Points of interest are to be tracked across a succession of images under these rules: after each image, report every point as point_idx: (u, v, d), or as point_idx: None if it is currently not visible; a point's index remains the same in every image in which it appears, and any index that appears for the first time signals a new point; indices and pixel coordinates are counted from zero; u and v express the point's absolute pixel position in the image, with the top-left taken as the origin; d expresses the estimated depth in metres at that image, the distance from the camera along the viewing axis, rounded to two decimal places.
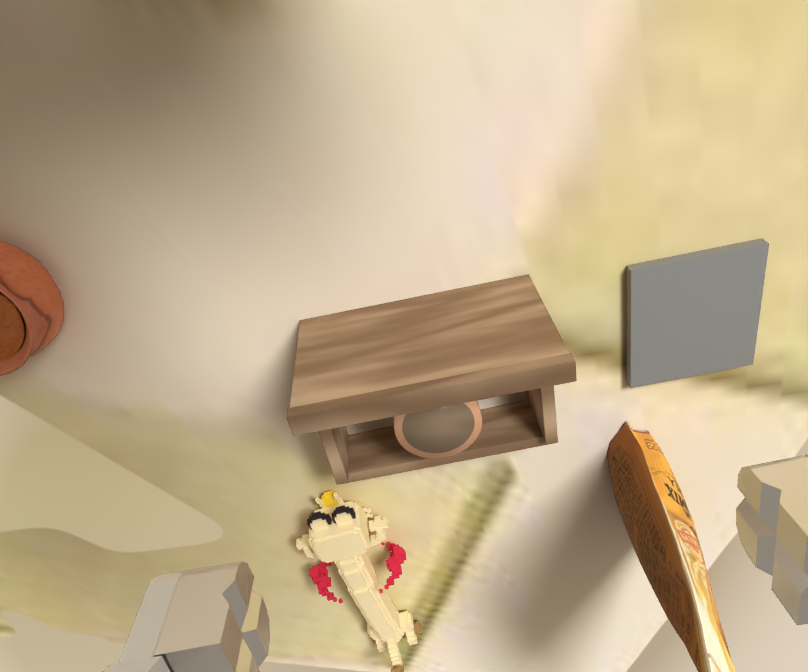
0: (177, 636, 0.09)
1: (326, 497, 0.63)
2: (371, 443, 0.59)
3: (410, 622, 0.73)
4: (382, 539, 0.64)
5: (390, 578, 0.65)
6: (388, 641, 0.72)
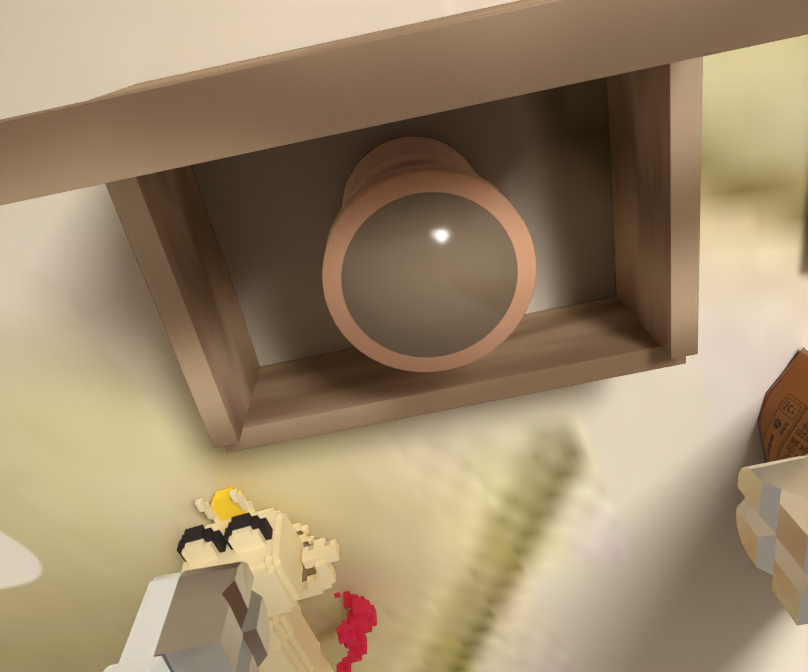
0: (177, 636, 0.09)
1: (219, 499, 0.33)
2: (302, 376, 0.29)
3: None
4: (328, 584, 0.34)
5: (344, 661, 0.34)
6: None
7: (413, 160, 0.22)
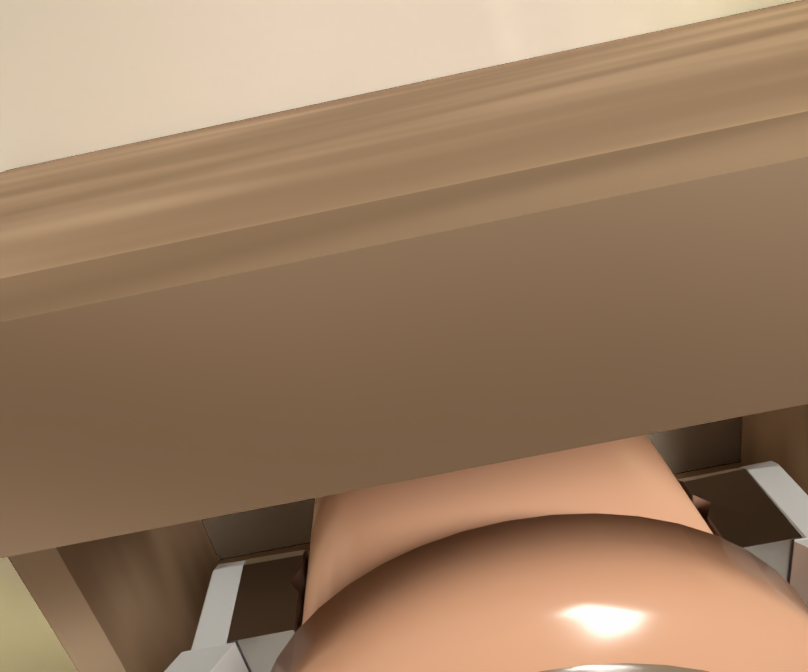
0: (248, 623, 0.09)
1: None
2: None
3: None
4: None
5: None
6: None
7: None
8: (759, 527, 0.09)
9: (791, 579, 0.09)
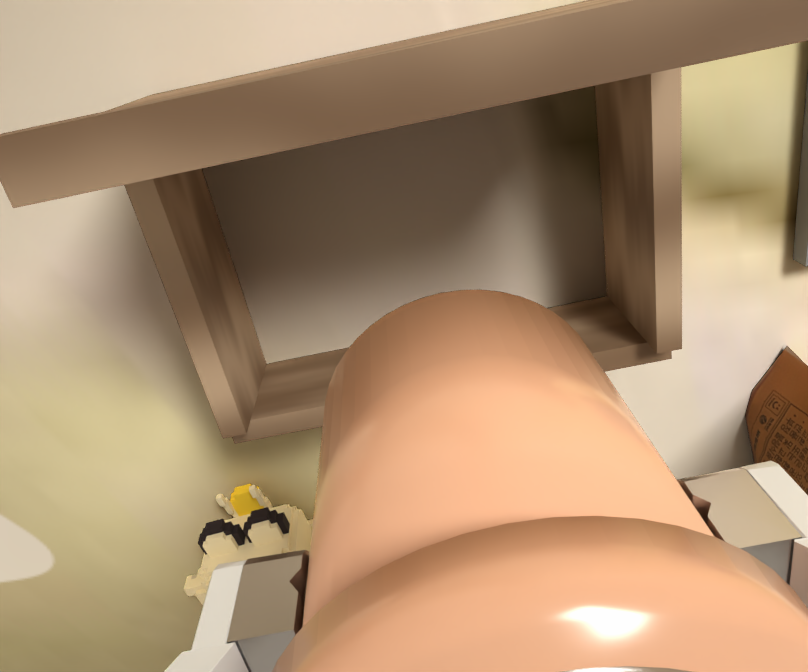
0: (248, 623, 0.09)
1: (238, 495, 0.34)
2: (306, 372, 0.30)
3: None
4: None
5: None
6: None
7: (496, 417, 0.09)
8: (759, 527, 0.09)
9: (791, 579, 0.09)
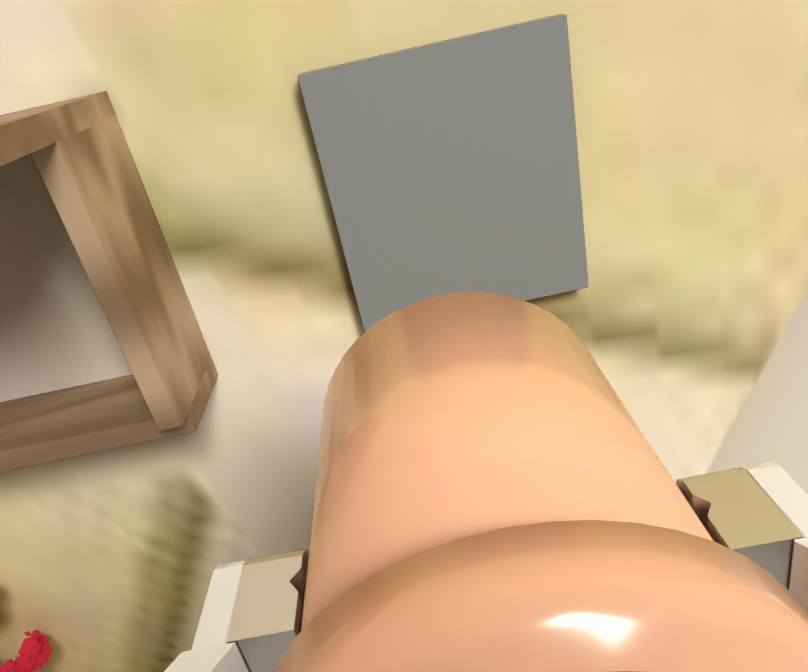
0: (248, 623, 0.09)
1: None
2: None
3: None
4: None
5: None
6: None
7: (494, 421, 0.09)
8: (759, 527, 0.09)
9: (791, 579, 0.09)
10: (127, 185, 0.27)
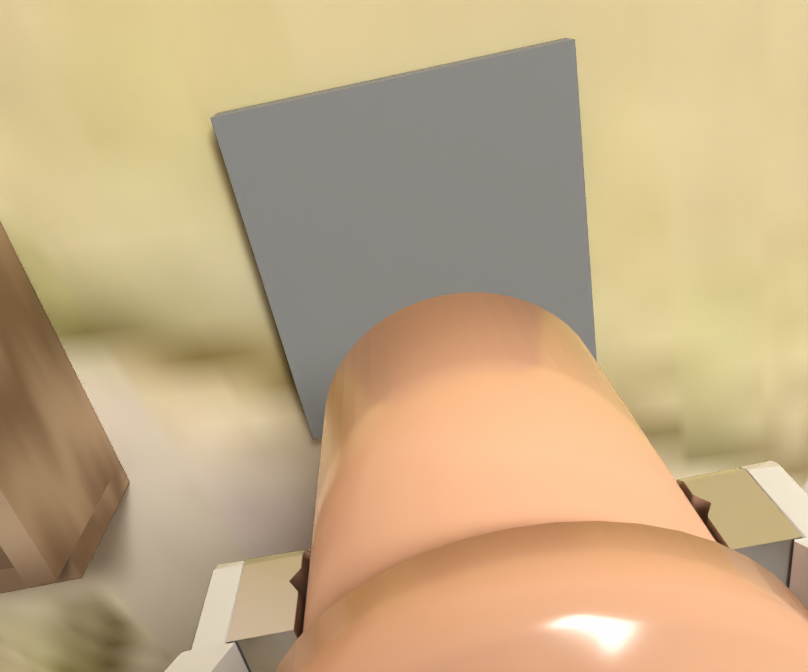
0: (248, 624, 0.09)
1: None
2: None
3: None
4: None
5: None
6: None
7: (496, 421, 0.09)
8: (759, 527, 0.09)
9: (791, 579, 0.09)
10: None
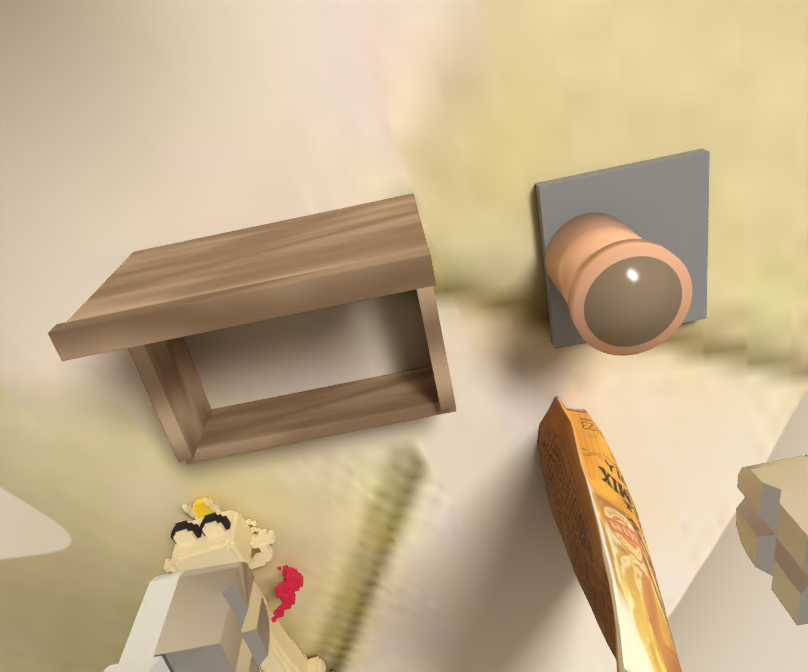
0: (177, 636, 0.09)
1: (197, 504, 0.52)
2: (235, 416, 0.47)
3: (320, 670, 0.60)
4: (268, 558, 0.52)
5: (279, 608, 0.52)
6: None
7: (611, 233, 0.39)
8: None
9: None
10: None
